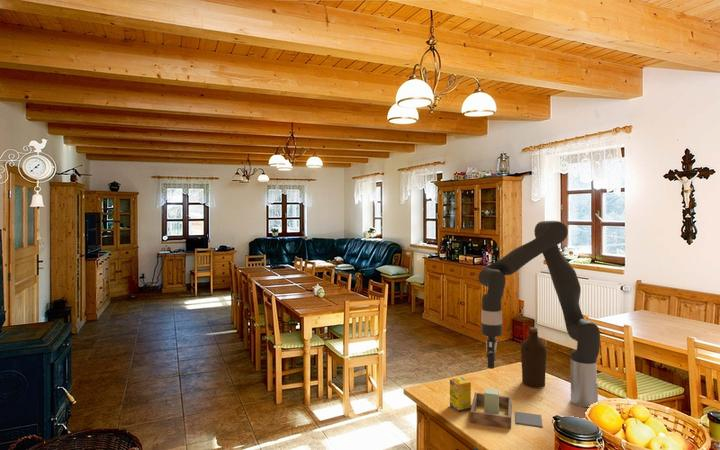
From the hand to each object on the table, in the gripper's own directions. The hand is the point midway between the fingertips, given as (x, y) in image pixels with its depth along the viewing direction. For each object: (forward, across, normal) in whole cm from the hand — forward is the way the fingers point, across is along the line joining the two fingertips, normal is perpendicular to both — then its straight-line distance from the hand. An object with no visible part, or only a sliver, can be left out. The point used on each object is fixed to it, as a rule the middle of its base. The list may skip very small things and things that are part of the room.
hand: (491, 364), depth 164 cm
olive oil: (+19, +36, -16) cm, 44 cm away
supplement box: (+20, +2, +12) cm, 23 cm away
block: (+19, 0, 0) cm, 19 cm away
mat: (+19, 0, -13) cm, 23 cm away
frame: (+19, 0, 0) cm, 19 cm away
